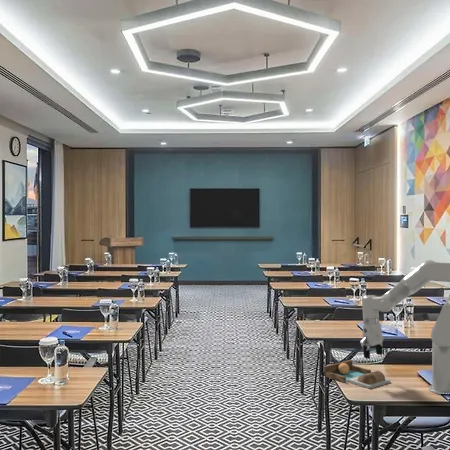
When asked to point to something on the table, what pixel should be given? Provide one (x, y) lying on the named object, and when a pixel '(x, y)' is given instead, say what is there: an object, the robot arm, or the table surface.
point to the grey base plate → (354, 381)
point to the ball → (343, 368)
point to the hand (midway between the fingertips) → (373, 356)
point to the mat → (351, 374)
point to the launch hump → (371, 377)
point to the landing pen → (332, 372)
